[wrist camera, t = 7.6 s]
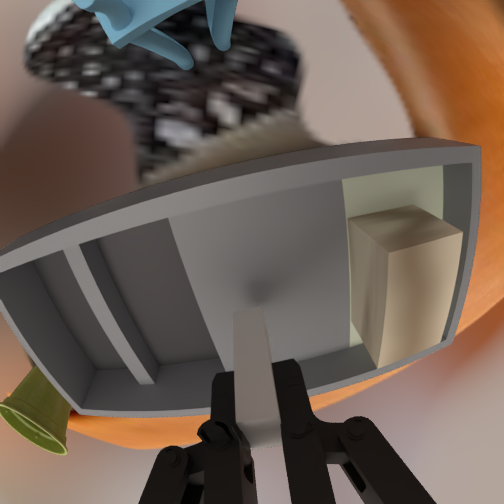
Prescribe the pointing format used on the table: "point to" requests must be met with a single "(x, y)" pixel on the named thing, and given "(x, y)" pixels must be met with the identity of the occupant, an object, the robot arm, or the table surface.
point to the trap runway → (224, 273)
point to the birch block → (401, 280)
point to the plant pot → (38, 412)
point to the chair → (152, 13)
